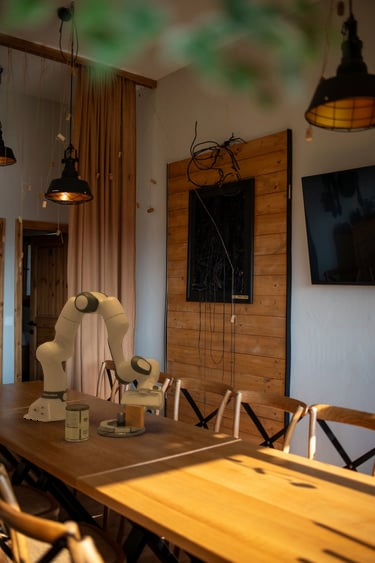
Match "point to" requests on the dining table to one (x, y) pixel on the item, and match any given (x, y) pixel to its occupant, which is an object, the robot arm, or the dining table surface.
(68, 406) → the coffee can
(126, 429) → the curved stand with block
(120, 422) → the grey disc with peg
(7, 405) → the dining table surface
